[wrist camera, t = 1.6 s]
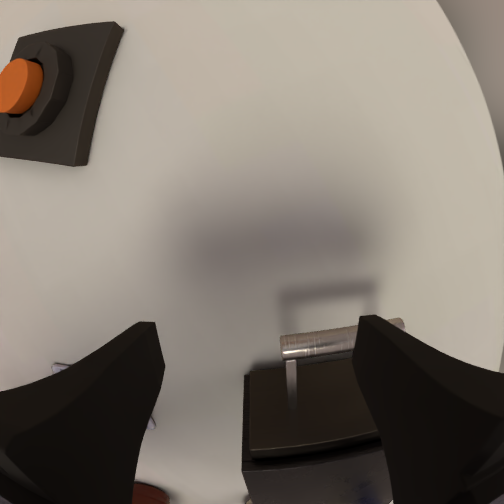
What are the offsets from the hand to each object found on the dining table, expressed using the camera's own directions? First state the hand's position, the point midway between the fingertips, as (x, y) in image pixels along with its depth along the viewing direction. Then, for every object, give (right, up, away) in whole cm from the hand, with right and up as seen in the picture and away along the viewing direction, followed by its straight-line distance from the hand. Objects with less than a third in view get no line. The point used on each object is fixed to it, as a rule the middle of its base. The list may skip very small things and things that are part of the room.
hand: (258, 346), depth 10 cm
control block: (-15, +15, +5) cm, 22 cm away
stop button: (-15, +14, +2) cm, 20 cm away
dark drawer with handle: (+6, -9, +12) cm, 16 cm away
